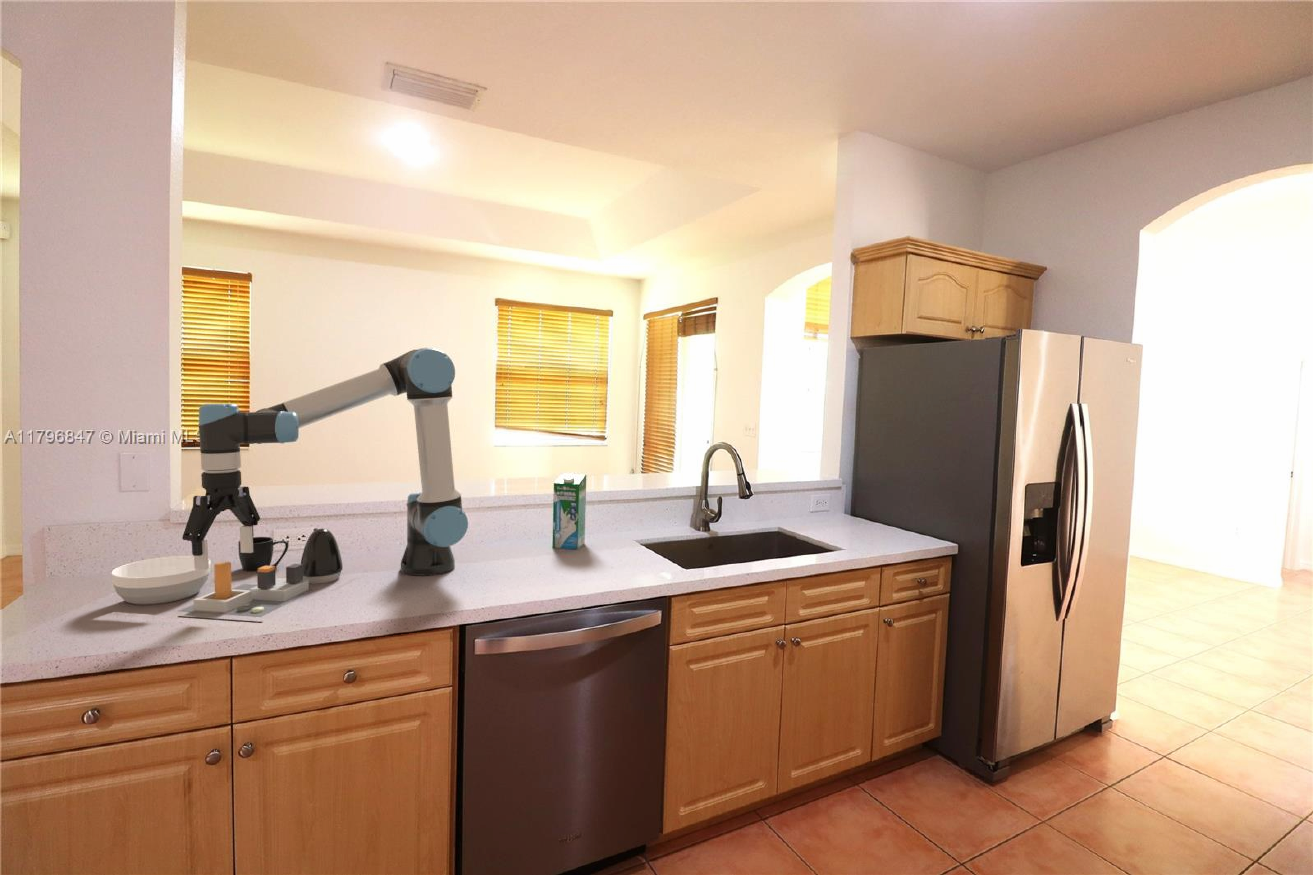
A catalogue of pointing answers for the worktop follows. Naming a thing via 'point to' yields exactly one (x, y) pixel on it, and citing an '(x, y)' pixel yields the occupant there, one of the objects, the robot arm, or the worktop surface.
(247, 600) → the panel board
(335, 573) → the black domed piece
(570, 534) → the milk carton
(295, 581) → the block
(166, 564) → the bowl
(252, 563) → the mug
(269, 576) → the block
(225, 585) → the pin
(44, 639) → the worktop surface
